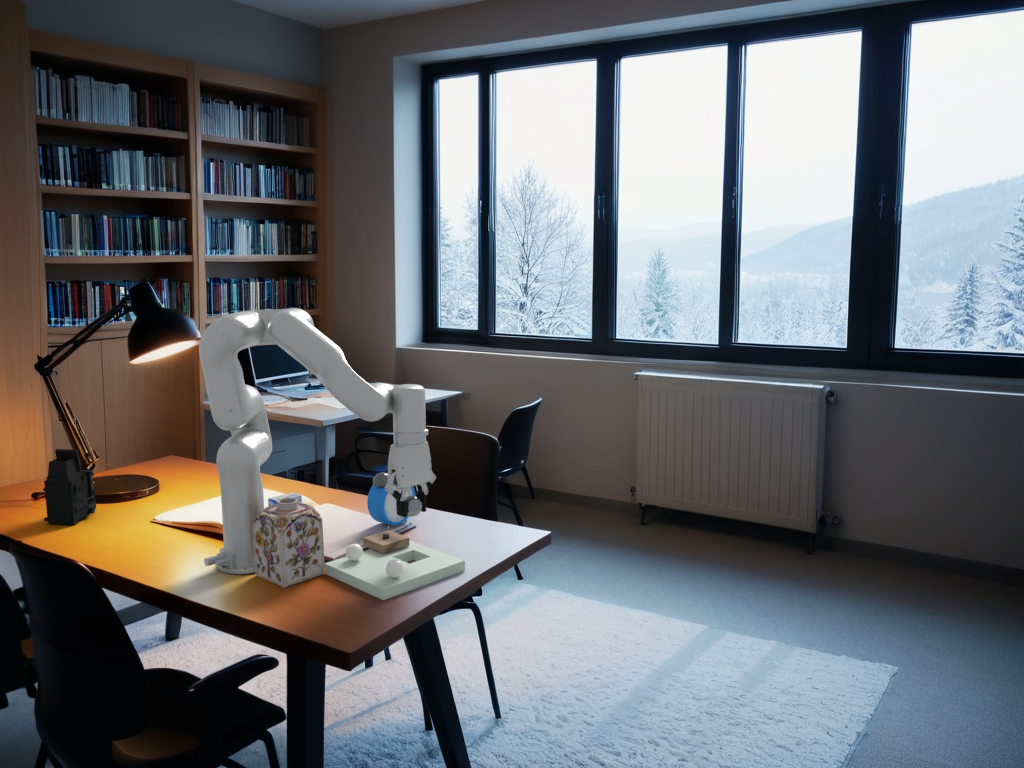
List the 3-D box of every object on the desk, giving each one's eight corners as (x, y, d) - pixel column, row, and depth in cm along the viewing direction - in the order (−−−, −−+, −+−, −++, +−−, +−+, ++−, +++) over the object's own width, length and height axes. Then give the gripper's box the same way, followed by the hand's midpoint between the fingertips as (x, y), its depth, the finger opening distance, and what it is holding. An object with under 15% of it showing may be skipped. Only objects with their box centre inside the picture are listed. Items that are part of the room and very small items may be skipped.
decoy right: (393, 582, 188) (393, 564, 188) (382, 577, 191) (381, 560, 190) (407, 577, 191) (407, 560, 191) (396, 572, 194) (396, 555, 193)
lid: (383, 553, 205) (383, 541, 205) (363, 545, 210) (362, 533, 210) (409, 545, 211) (409, 533, 210) (389, 537, 216) (388, 526, 216)
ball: (410, 521, 199) (409, 500, 198) (396, 516, 202) (396, 495, 202) (426, 516, 203) (426, 495, 202) (413, 511, 206) (412, 491, 205)
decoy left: (352, 564, 199) (352, 548, 198) (342, 560, 201) (342, 544, 201) (366, 560, 201) (366, 544, 201) (356, 556, 204) (356, 540, 204)
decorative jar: (295, 562, 207) (293, 490, 204) (326, 574, 200) (323, 499, 197) (252, 576, 198) (249, 501, 195) (282, 589, 191) (279, 511, 188)
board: (383, 600, 185) (383, 589, 184) (324, 573, 200) (324, 563, 199) (464, 570, 202) (464, 560, 202) (405, 548, 217) (405, 538, 217)
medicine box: (293, 522, 237) (291, 491, 236) (303, 525, 235) (302, 494, 233) (268, 529, 231) (267, 498, 230) (278, 532, 229) (277, 501, 227)
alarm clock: (382, 531, 229) (381, 477, 227) (366, 527, 233) (365, 473, 231) (416, 519, 240) (415, 467, 237) (400, 515, 243) (399, 464, 241)
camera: (105, 511, 246) (100, 443, 243) (76, 526, 233) (71, 454, 230) (72, 510, 247) (66, 442, 244) (42, 525, 234) (35, 453, 231)
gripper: (427, 429, 208) (428, 502, 211) (370, 441, 196) (372, 518, 199) (448, 434, 203) (449, 508, 206) (390, 446, 191) (393, 525, 194)
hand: (411, 512), depth 202 cm, fingers closed on ball, 5 cm apart
